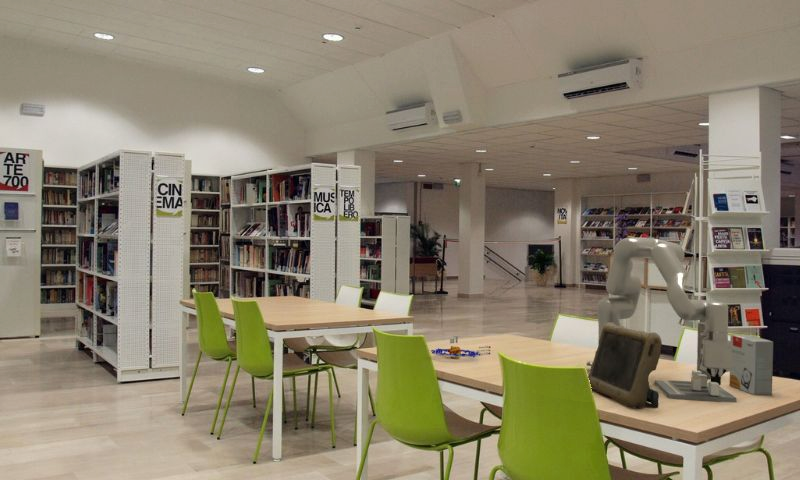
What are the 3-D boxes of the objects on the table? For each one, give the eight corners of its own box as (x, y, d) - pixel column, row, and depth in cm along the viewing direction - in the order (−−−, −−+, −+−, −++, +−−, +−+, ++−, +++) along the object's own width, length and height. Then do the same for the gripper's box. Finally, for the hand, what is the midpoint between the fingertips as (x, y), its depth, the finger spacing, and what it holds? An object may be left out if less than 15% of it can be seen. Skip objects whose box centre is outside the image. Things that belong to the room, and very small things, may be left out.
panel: (669, 398, 230) (670, 394, 230) (654, 383, 254) (654, 379, 254) (736, 402, 226) (736, 397, 226) (714, 386, 251) (714, 382, 251)
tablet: (579, 388, 244) (580, 321, 244) (611, 386, 248) (612, 320, 248) (633, 410, 213) (634, 333, 213) (669, 408, 217) (670, 333, 217)
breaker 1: (694, 382, 249) (694, 371, 249) (691, 380, 252) (692, 370, 252) (701, 382, 248) (701, 372, 248) (699, 381, 251) (699, 370, 251)
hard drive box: (728, 385, 254) (729, 334, 254) (747, 385, 254) (748, 334, 254) (753, 395, 238) (754, 340, 238) (773, 395, 239) (774, 340, 239)
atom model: (472, 352, 325) (473, 331, 325) (509, 360, 304) (510, 337, 304) (416, 355, 304) (417, 333, 305) (452, 364, 283) (453, 340, 284)
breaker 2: (711, 395, 228) (711, 383, 228) (708, 393, 231) (708, 381, 231) (719, 395, 228) (719, 384, 228) (716, 393, 231) (716, 382, 231)
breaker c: (699, 386, 242) (699, 375, 242) (697, 384, 245) (697, 373, 245) (706, 386, 241) (707, 376, 241) (704, 385, 244) (704, 374, 244)
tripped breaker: (693, 390, 235) (693, 378, 236) (690, 388, 239) (691, 376, 239) (701, 390, 235) (701, 378, 235) (698, 388, 238) (698, 376, 238)
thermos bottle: (715, 375, 273) (716, 308, 273) (720, 379, 265) (721, 310, 265) (694, 374, 274) (696, 308, 274) (699, 378, 266) (700, 310, 266)
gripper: (697, 336, 233) (696, 388, 233) (742, 338, 231) (741, 390, 231) (691, 334, 241) (690, 383, 241) (734, 335, 238) (734, 385, 238)
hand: (715, 386), depth 236 cm, fingers closed
